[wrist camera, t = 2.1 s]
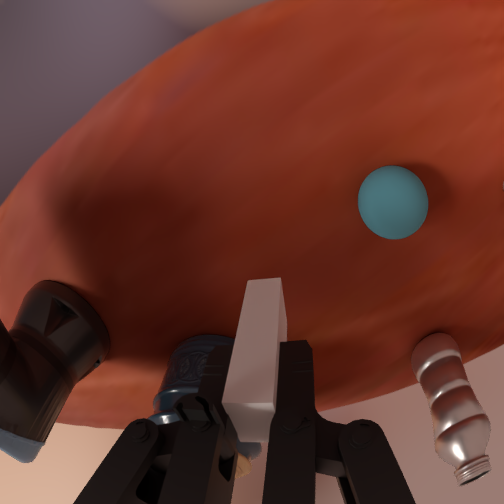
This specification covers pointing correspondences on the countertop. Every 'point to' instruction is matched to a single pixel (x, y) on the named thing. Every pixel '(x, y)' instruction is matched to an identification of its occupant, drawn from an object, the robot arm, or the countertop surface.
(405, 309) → the countertop surface
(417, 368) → the plastic bottle
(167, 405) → the canister
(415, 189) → the ball
